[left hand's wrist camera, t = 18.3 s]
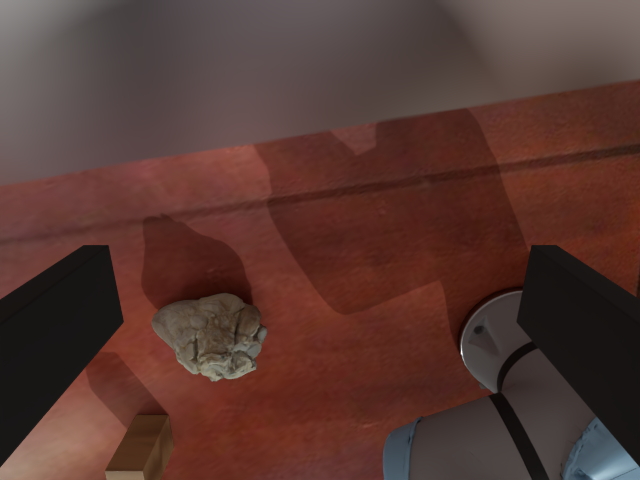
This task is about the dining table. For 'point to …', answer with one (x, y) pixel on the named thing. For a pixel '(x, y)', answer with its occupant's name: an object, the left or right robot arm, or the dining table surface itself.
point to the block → (143, 450)
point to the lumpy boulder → (212, 334)
